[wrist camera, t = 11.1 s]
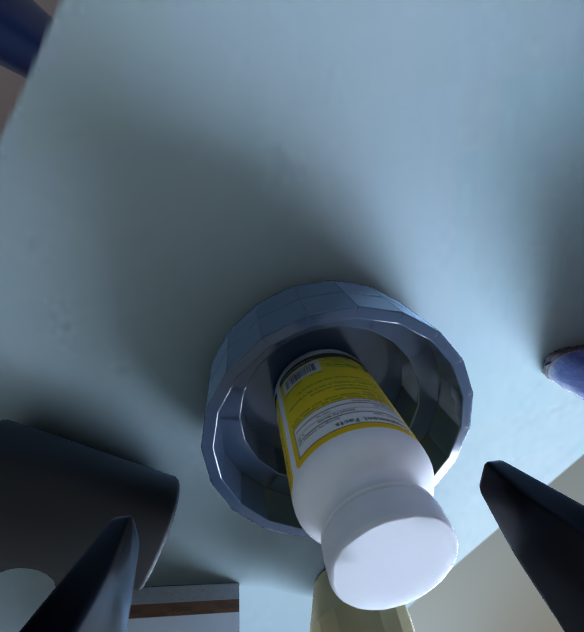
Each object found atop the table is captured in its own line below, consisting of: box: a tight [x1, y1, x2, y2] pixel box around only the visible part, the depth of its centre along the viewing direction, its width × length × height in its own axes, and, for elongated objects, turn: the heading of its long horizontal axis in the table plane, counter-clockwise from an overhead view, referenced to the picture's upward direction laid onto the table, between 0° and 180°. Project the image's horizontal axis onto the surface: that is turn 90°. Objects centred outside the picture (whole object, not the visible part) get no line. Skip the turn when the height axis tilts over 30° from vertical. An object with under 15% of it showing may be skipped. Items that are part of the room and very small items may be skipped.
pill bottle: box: [274, 349, 458, 610], centre depth 17 cm, size 6×6×11 cm
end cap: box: [0, 420, 180, 591], centre depth 19 cm, size 10×7×7 cm
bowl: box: [201, 280, 473, 536], centre depth 20 cm, size 14×14×5 cm
